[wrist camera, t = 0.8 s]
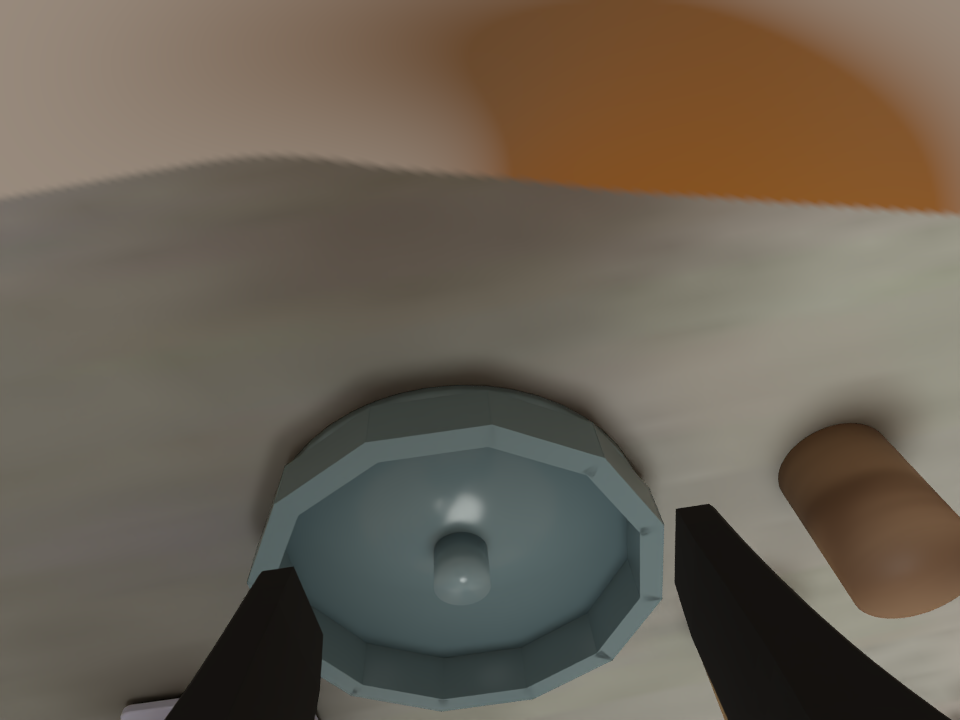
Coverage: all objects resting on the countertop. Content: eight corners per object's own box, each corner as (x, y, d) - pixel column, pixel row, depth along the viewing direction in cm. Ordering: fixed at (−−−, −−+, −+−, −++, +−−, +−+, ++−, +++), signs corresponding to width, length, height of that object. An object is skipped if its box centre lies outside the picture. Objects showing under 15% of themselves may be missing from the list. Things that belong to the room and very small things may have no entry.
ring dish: (643, 629, 28) (660, 681, 26) (324, 673, 29) (315, 728, 27) (644, 356, 21) (667, 399, 19) (214, 417, 21) (191, 466, 19)
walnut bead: (876, 499, 25) (967, 609, 21) (772, 513, 25) (841, 626, 21) (898, 415, 23) (1003, 519, 19) (784, 431, 23) (863, 538, 19)
